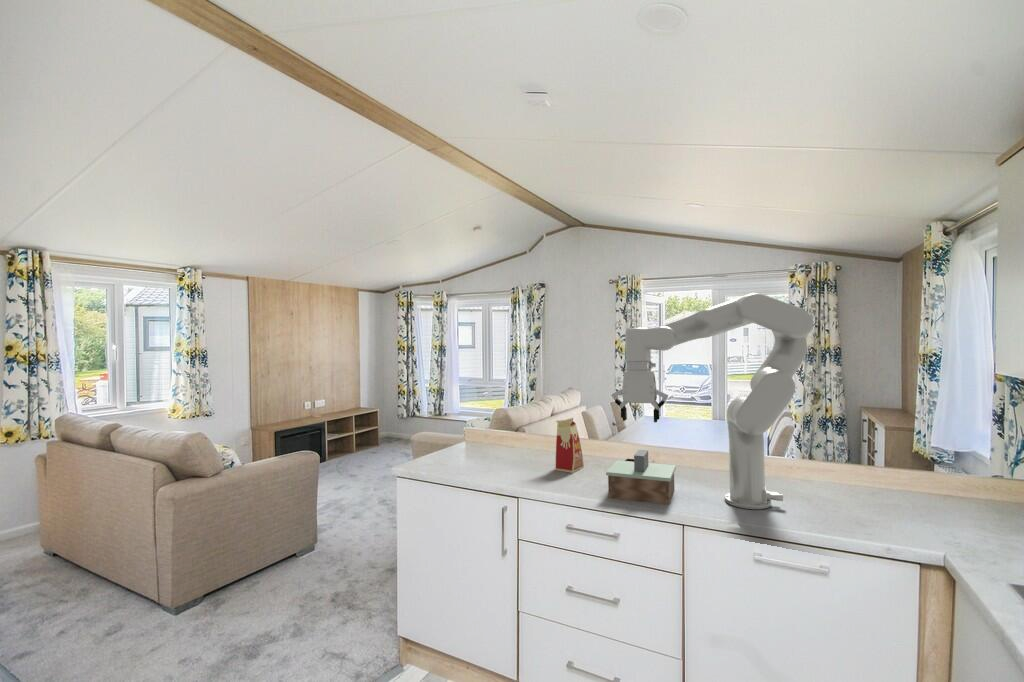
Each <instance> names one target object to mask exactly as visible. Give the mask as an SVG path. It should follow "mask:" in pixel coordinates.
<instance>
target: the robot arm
mask: <svg viewBox="0 0 1024 682" xmlns="http://www.w3.org/2000/svg"><path fill="white" fill-rule="evenodd" d="M750 324H756V325H757V326H760V327H763V328H765V329H767V330H770V331H771V332H772V335H773V336H774V344H773V347H772V350H771V351H770V353H768V356H767V357H766V359H765V360H764V361H763V362H762V364H761V365H760V366H759V368H758V369H757V370H756V371H755V373H754V374H753V375H752V376H751V379H750V383H749V385H750V386H749V387H750V390H751V392H750V393H749V394H748V396H741V397H740V396H739V397H736V398H734V399H733V400H731V402H730V403H729V404H728V407H727V410H726V421H727V431H728V432H727V433H728V460H729V461H728V463H729V465H728V466H729V468H728V469H729V492H728V493H726V494H725V495H724V502H726V503H727V504H729V505H731V506H734V507H737V508H739V509H740V508H742V509H747V510H763V509H768V508H770V507H771V506H772V501H777V502H784V495H783V494H782V493H781V494H779V493H778V492H777V491H769V490H767V486H766V477H765V476H766V475H765V474H766V473H765V438H764V437H765V436H764V433H766V432H767V431H769V429H771V427H772V426H773V425H774V424H775V422H776V421H777V419H778V418H779V417H780V416H781V414H782V413H783V411H784V410H785V409H786V408H787V406H788V404H790V402H791V400H792V399H793V397H794V394H795V391H796V383H795V381H794V379H793V377H794V376H795V374H796V373H797V370H798V369H799V368H800V366H801V365H802V364H803V362H804V360H805V358H806V355H807V349H808V348H807V347H808V346H807V336H808V335H809V334H810V333H811V332H812V330H813V327H814V319H813V316H812V315H811V314H810V312H808V311H807V310H806V309H804V308H801V307H799V306H796V305H793V304H790V303H787V302H786V301H781V300H779V299H776V298H773V297H772V296H768V295H765V294H762V293H759V292H758V293H756V292H752V293H749V294H745V295H742V296H739V297H736V298H734V299H731V300H728V301H725V302H723V303H722V302H721V303H719V304H716V305H713V306H711V307H708V308H707V307H706V308H705V309H702V310H700V311H697V312H695V313H693V314H690V315H689V316H687V317H684V318H681V319H678V320H676V321H672V322H669V323H667V324H664V325H661V326H656V327H649V328H647V327H630V328H627V329H626V331H625V360H626V361H625V369H626V370H624V373H623V380H622V389H619V390H617V391H615V392H613V393H612V394H611V397H612V399H613V400H614V403H615V405H617V406H618V407H619V409H620V419H622V422H626V420H627V419H628V412H627V407H626V405H627V404H651V406H653V407H654V408H653V423H658V420H660V409H661V408H662V406H663V405H665V403H666V402H667V400H668V398H669V395H668V394H666V393H665V392H663V391H661V390H659V389H657V381H656V375H655V371H654V370H652V369H653V368H656V365H657V364H656V363H655V362H652V360H651V358H652V357H651V355H652V354H651V350H655V351H663V352H664V351H665V352H666V351H670V350H671V349H672V348H673V347H675V346H676V347H677V346H678V345H681V344H685V343H687V342H690V341H691V342H692V341H694V340H699V339H707V338H711V337H714V336H717V335H718V336H719V335H720V334H723V333H726V332H729V331H733V330H736V329H738V328H741V327H745V326H747V325H750ZM621 394H622V401H621V400H620V399H619V396H620V395H621ZM657 396H659V397H661V398H662V399H661V400H660V402H658V401H657Z"/></svg>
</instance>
